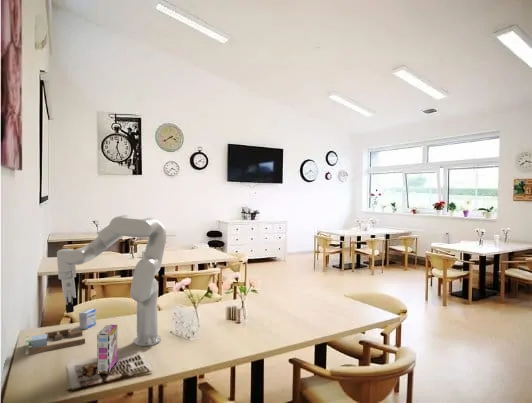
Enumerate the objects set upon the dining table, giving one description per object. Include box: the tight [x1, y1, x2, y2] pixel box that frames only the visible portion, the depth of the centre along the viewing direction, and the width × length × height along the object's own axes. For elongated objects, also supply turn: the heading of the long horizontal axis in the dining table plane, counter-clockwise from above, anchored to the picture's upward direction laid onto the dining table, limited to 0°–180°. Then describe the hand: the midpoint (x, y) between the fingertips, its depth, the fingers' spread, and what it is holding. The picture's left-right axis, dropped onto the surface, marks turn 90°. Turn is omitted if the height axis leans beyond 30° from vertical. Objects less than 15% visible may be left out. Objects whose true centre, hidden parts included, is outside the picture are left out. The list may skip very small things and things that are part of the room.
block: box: [31, 333, 48, 349], centre depth 177 cm, size 6×6×5 cm
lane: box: [25, 328, 86, 356], centre depth 183 cm, size 18×24×4 cm
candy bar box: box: [96, 324, 118, 372], centre depth 156 cm, size 11×5×16 cm, turn 5°
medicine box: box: [78, 308, 97, 330], centre depth 203 cm, size 8×4×9 cm, turn 168°
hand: (69, 312), depth 183 cm, fingers closed
